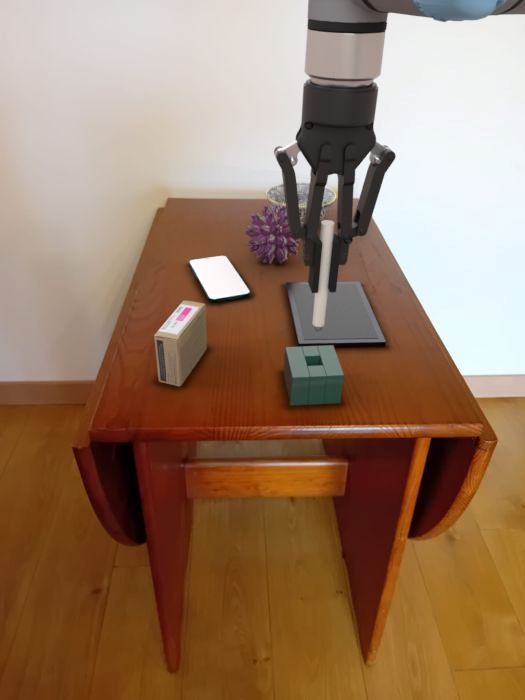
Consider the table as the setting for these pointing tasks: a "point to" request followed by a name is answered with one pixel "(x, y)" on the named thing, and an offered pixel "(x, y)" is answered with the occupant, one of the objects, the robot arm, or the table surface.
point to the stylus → (323, 274)
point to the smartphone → (219, 279)
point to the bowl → (300, 199)
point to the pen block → (313, 375)
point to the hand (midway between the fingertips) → (321, 287)
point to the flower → (271, 235)
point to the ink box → (181, 342)
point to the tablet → (335, 317)
